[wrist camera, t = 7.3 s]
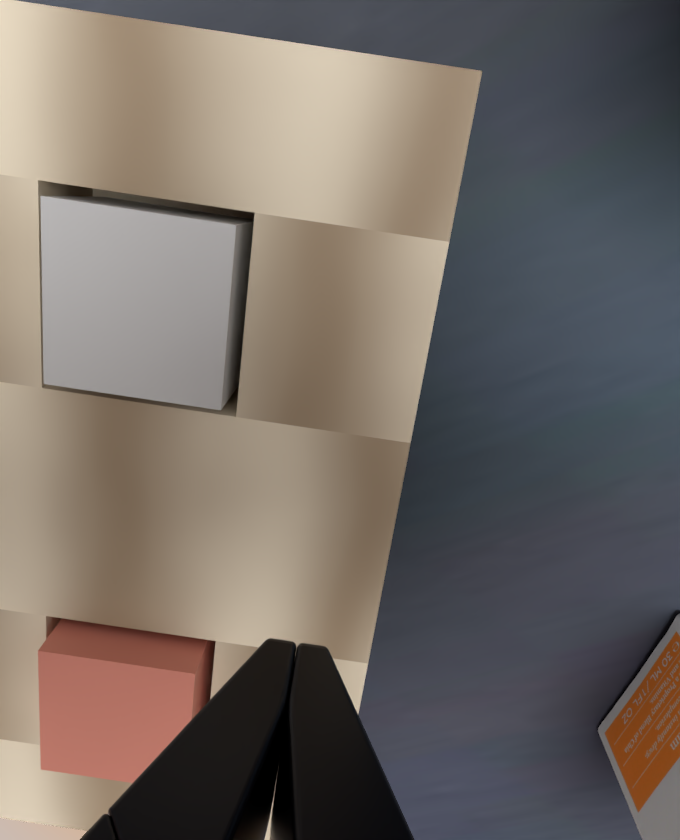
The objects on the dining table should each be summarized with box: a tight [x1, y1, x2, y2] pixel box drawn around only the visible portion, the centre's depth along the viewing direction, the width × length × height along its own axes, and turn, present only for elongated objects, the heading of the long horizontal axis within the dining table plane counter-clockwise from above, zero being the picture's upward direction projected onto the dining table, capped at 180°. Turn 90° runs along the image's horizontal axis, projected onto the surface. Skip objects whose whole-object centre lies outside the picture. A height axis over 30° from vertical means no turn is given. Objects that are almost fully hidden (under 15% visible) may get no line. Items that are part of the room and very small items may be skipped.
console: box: [0, 0, 482, 840], centre depth 19 cm, size 14×24×4 cm, turn 172°
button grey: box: [40, 196, 254, 410], centre depth 16 cm, size 4×4×4 cm
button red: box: [38, 618, 216, 783], centre depth 20 cm, size 4×4×4 cm
